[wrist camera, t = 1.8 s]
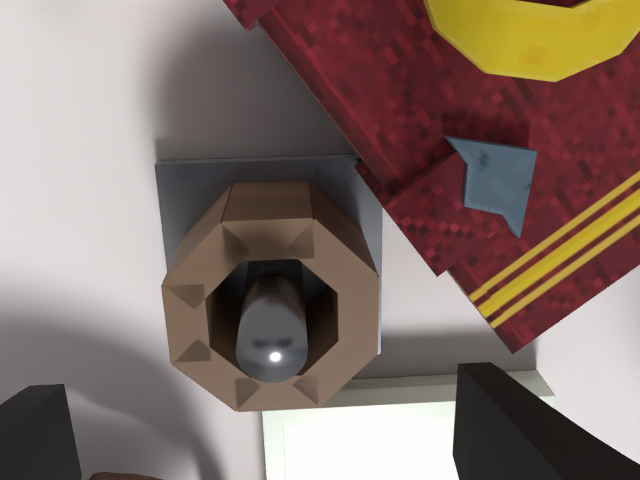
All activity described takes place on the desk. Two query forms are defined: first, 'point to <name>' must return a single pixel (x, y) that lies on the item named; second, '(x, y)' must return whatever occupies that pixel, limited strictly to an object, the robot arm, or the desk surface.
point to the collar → (225, 311)
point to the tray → (375, 430)
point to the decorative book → (486, 136)
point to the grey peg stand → (268, 275)
